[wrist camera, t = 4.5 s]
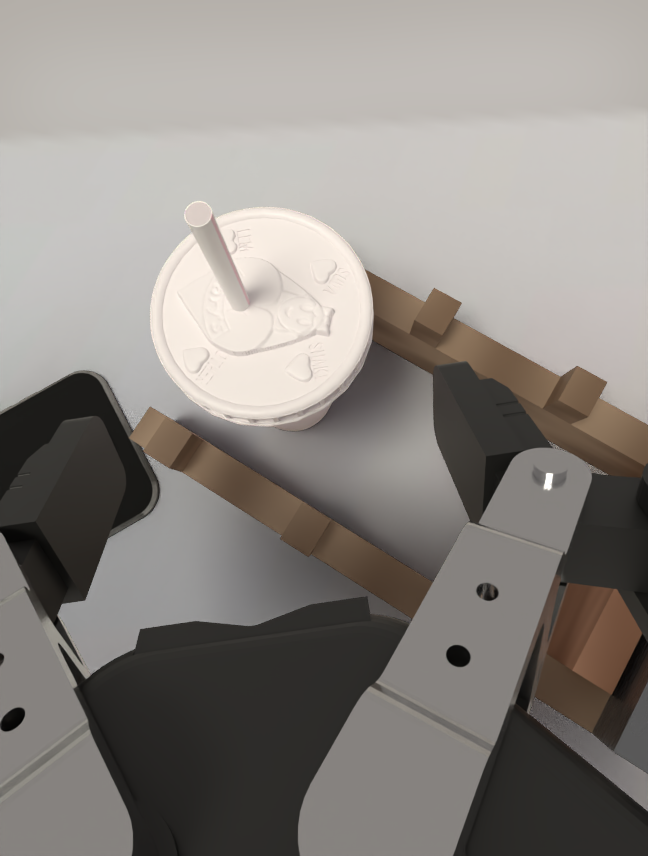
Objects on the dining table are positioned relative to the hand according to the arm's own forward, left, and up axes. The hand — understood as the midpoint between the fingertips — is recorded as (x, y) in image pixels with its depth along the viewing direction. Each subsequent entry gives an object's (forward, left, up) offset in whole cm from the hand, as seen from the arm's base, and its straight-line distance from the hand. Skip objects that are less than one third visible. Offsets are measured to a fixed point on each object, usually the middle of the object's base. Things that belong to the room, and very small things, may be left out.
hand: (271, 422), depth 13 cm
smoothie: (-2, +3, -11) cm, 12 cm away
